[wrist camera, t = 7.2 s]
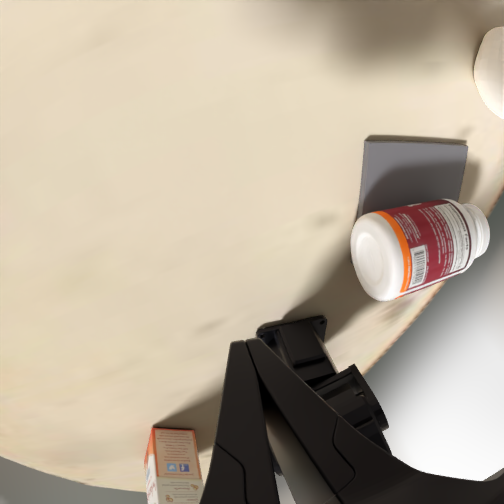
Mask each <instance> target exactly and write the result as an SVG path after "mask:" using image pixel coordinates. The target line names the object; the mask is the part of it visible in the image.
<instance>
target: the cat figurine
mask: <svg viewBox="0 0 504 504" xmlns="http://www.w3.org/2000/svg"><path fill="white" fill-rule="evenodd" d="M473 73H474V80H475V84H476V86H477V89H478V92H479V94H480V96H481V97H482V99H483V101H484V103H485V104H486V106H487V107H488V108H489V109H490V110H491V111H492V112H493V113H495V114H496V115H497V116H499V117H500V118H502V119H504V26H502V27H494V28H493V29H491V30H490V31H488V32H487V33H486V35H485V36H484V38H483V41H482V43H481V46H480V48H479V51H478V54H477V57H476V61H475V65H474V72H473Z"/></svg>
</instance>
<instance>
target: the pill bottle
mask: <svg viewBox="0 0 504 504" xmlns="http://www.w3.org/2000/svg"><path fill="white" fill-rule="evenodd" d="M489 239H490V230H489V225H488V222H487V219H486V217H485V215H484V214H483V212H482V211H481V210H480V209H479V208H478V207H477V206H475V205H473V204H469V203H465V204H459V203H458V202H456V201H454V200H451V199H438V200H433V201H427V202H422V203H417V204H412V205H407V206H402V207H397V208H392V209H386V210H381V211H376V212H371V213H368V214H365V215H363V216H361V217H360V218H359V219H358V220H357V221H356V222H355V224H354V227H353V230H352V234H351V241H350V245H351V255H352V260H353V265H354V268H355V271H356V274H357V277H358V279H359V281H360V283H361V285H362V287H363V289H364V290H365V291H366V293H367V294H369V295H370V296H371V297H372V298H374V299H376V300H378V301H390V300H393V299H397V298H399V297H402V296H405V295H407V294H410V293H413V292H415V291H418V290H421V289H423V288H426V287H429V286H431V285H434V284H436V283H439V282H441V281H444V280H446V279H449V278H451V277H453V276H456V275H458V274H460V273H462V272H464V271H465V270H466V269H468V267H470V265H471V264H472V262H473V260H474V259H475V258H477V257H478V256H480V255H482V254H483V253H484V252H485V251H486V249H487V247H488V243H489Z"/></svg>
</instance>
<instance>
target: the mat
mask: <svg viewBox="0 0 504 504" xmlns="http://www.w3.org/2000/svg"><path fill="white" fill-rule="evenodd" d="M467 151H468V146H466V145H464V144H452V143H437V142H418V141H364V155H363V167H362V178H361V188H360V197H359V206H358V214H357V220H358V219H359V218H360V217H361V216H363V215H365V214H368V213H371V212H376V211H381V210H386V209H392V208H397V207H402V206H407V205H412V204H417V203H422V202H427V201H433V200H438V199H451V200H454V201H456V202H458V198H459V194H460V189H461V184H462V179H463V174H464V169H465V163H466V157H467ZM351 263H352V264H353V260H352V257H351Z"/></svg>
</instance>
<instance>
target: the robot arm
mask: <svg viewBox="0 0 504 504" xmlns="http://www.w3.org/2000/svg"><path fill="white" fill-rule="evenodd" d="M326 325H327V319H326V317H325V316H323V315H322V316H317V317H313V318H309V319H305V320H300V321H296V322H292V323H287V324H283V325H278V326H273V327H269V328H264V329H260V330H258V331H257V332H256V338H252V339H247V340H245V341H244V340H240V341H233V342H231V344H230V349H229V355H228V361H227V367H226V373H225V379H224V385H223V391H222V397H221V403H220V409H219V415H218V422H217V428H216V434H215V440H214V445H213V452H212V458H211V463H210V468H209V473H208V476H207V480H206V483H205V487H204V490H203V493H202V496H201V499H200V502H199V504H280V501H279V495H278V490H277V484H276V479H275V473H274V471H275V472H276V473H277V474H278V475H279V476H282V475H283V476H284V477H285V480H286V482H287V484H288V486H289V489H290V491H291V493H292V496H293V498H294V500H295V502H296V504H504V468H503V469H501V470H500V471H498V472H497V473H495V474H493V475H492V476H490V477H488V478H487V479H485V480H484V481H474V480H466V479H458V478H452V477H446V476H440V475H434V474H429V473H425V472H421V471H419V470H416V469H414V468H412V467H410V466H409V465H407V464H405V463H404V462H402V461H400V460H399V459H397V458H396V457H394V456H393V455H392V453H391V450H390V448H389V446H388V444H387V442H386V439H385V437H384V435H383V433H382V431H384V430H386V429H388V428H389V425H388V422H387V419H386V417H385V414H384V412H383V410H382V408H381V406H380V404H379V402H378V400H377V399H376V397H375V395H374V394H373V392H372V391H371V389H370V387H369V386H368V384H367V383H366V381H365V379H364V378H363V376H362V375H361V373H360V372H359V370H358V369H357V367H356V365H355V364H353V365H351V366H349V368H347V369H345V370H343V371H341V372H340V373H339V372H338V371H337V369H336V367H335V365H334V363H333V361H332V359H331V357H330V355H329V353H328V351H327V349H326V347H325V346H324V344H323V342H324V336H325V331H326Z"/></svg>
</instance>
